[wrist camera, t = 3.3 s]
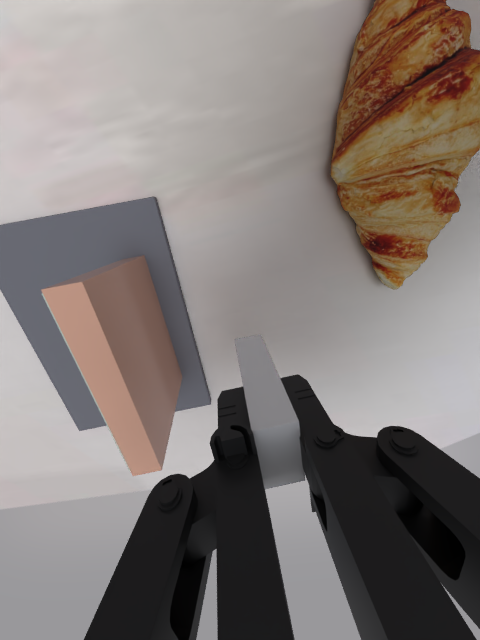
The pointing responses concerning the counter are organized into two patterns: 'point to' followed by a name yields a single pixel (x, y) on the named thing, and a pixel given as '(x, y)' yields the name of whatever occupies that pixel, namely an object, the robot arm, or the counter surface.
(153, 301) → the block
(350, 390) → the counter surface
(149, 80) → the counter surface
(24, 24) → the counter surface
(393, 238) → the croissant
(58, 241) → the mat
